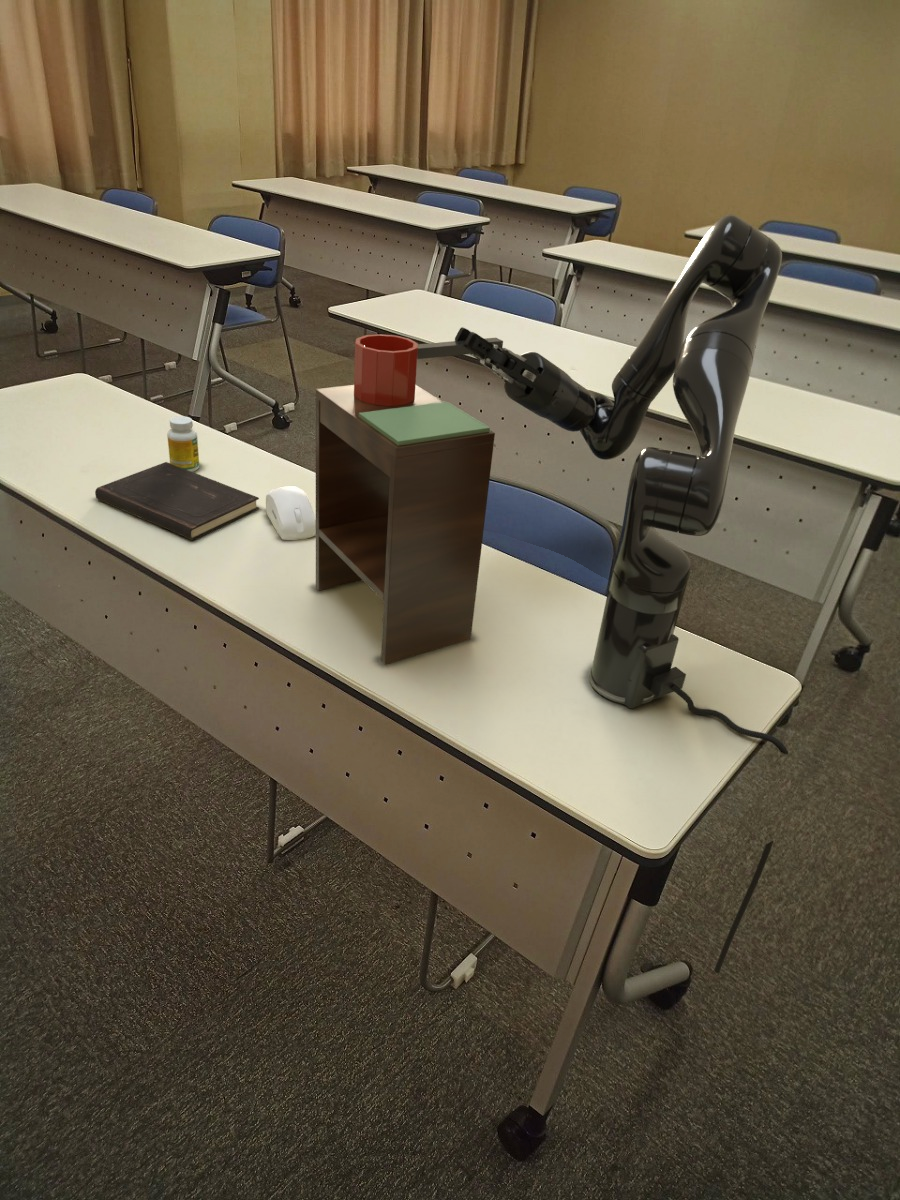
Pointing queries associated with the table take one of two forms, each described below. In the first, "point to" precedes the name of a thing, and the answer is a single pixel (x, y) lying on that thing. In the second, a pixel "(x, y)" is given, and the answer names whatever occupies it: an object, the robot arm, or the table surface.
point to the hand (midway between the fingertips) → (464, 336)
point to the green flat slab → (423, 423)
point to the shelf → (401, 521)
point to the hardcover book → (178, 500)
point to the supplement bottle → (183, 443)
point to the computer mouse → (291, 513)
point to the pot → (396, 366)
